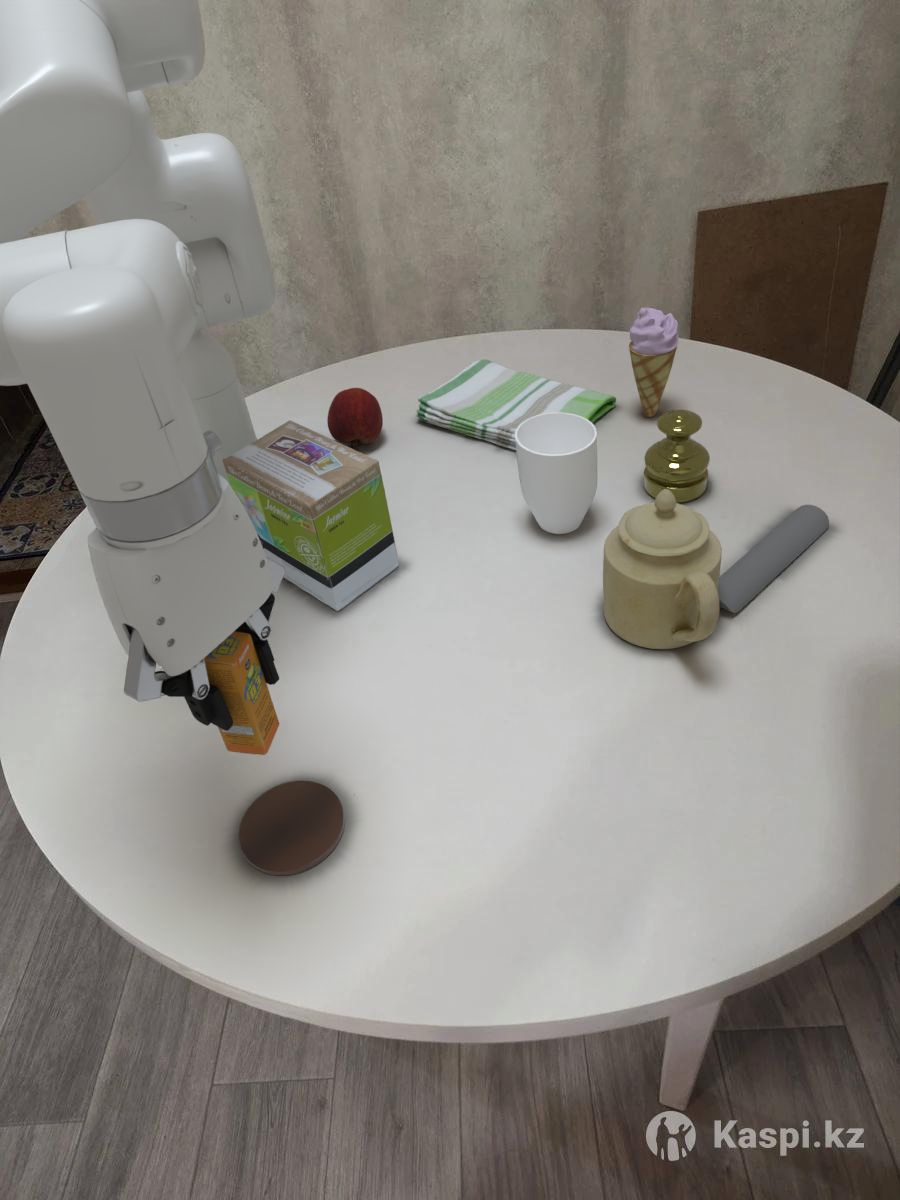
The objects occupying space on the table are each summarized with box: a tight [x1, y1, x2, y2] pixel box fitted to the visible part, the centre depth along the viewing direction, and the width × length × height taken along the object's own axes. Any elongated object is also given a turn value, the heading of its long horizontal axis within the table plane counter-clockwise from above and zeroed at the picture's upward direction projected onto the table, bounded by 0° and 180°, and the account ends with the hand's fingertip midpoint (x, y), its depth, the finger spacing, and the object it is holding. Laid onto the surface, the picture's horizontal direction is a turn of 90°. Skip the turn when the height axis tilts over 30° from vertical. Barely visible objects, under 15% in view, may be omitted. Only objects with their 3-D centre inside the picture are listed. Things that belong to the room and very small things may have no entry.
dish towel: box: [415, 358, 617, 451], centre depth 119 cm, size 17×23×4 cm
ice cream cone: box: [628, 307, 679, 418], centre depth 112 cm, size 7×6×15 cm
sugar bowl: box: [602, 489, 723, 650], centre depth 82 cm, size 15×11×15 cm
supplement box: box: [204, 632, 281, 756], centre depth 62 cm, size 3×3×10 cm
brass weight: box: [643, 408, 711, 504], centre depth 100 cm, size 7×7×10 cm
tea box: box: [222, 419, 400, 612], centre depth 95 cm, size 15×10×15 cm, turn 47°
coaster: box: [238, 779, 346, 876], centre depth 73 cm, size 9×9×1 cm
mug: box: [515, 412, 598, 535], centre depth 98 cm, size 12×9×12 cm
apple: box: [326, 387, 384, 449], centre depth 117 cm, size 7×8×8 cm
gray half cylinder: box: [717, 504, 830, 614], centre depth 91 cm, size 4×20×2 cm, turn 134°
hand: (238, 696), depth 63 cm, fingers closed on supplement box, 4 cm apart
